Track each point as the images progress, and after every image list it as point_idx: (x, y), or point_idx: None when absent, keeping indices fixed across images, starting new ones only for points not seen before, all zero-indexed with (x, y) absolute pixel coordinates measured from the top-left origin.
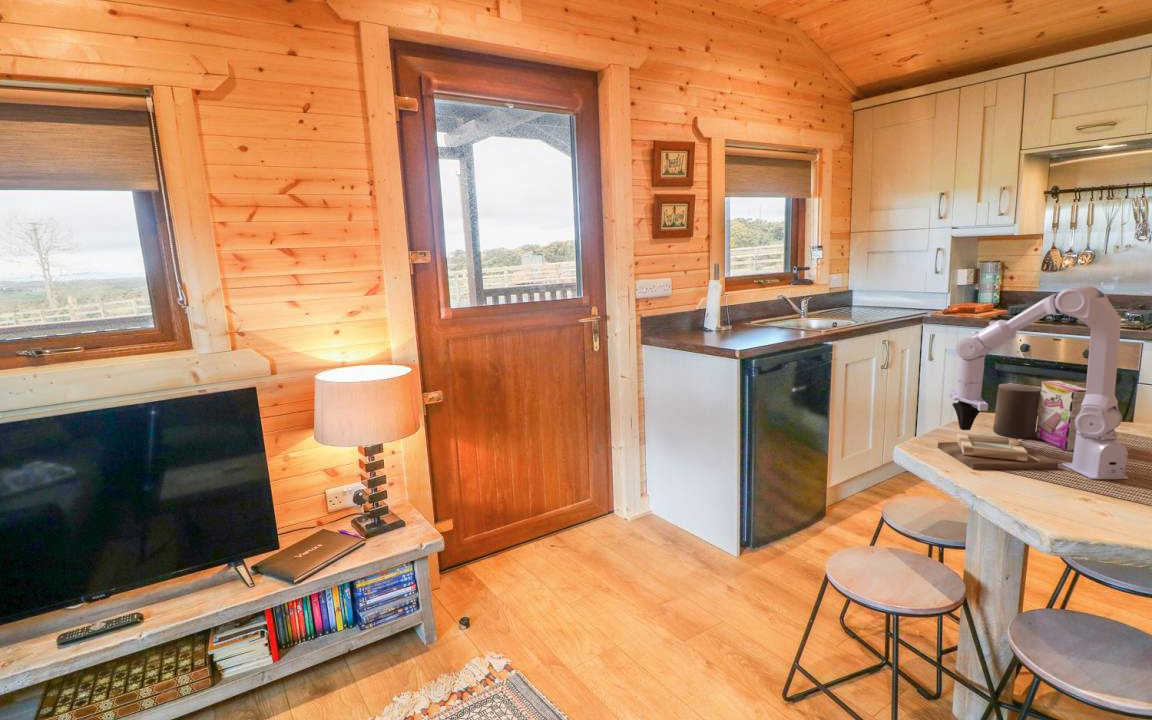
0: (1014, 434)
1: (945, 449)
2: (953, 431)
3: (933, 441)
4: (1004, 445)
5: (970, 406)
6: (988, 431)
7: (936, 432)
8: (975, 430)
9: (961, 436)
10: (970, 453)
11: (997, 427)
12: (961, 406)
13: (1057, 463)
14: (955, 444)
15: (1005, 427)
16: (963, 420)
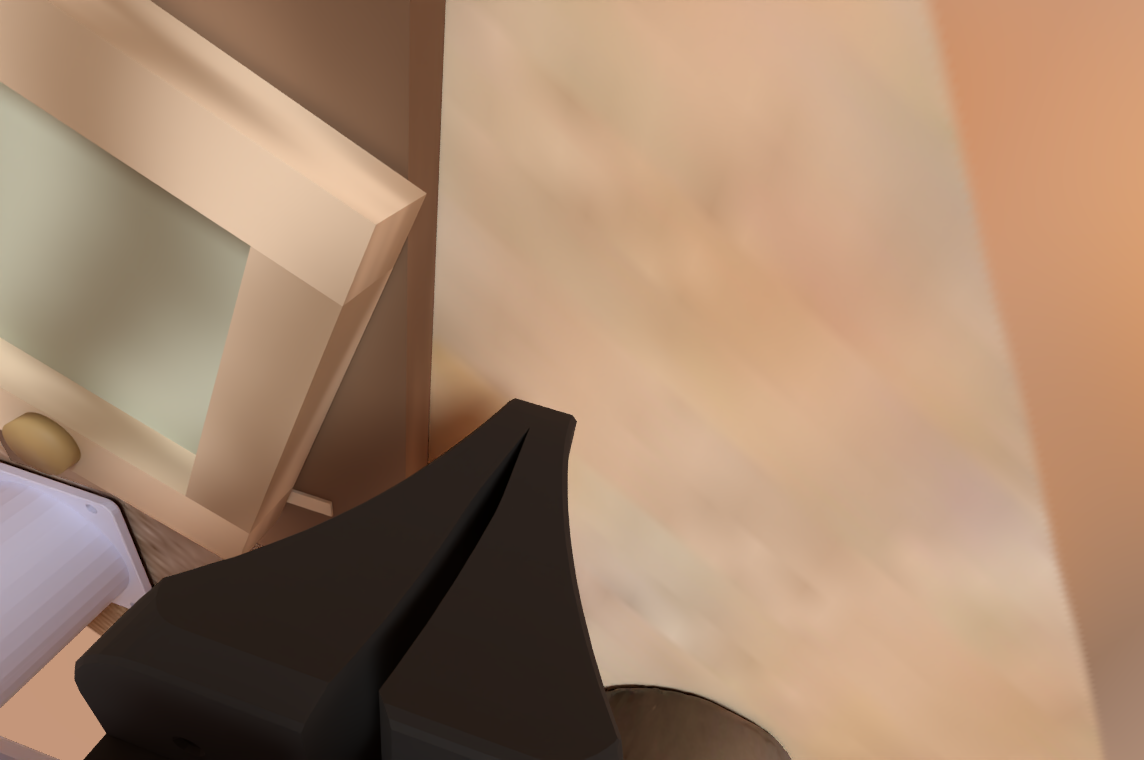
0: None
1: None
2: (921, 540)
3: (713, 40)
4: (184, 423)
5: (95, 754)
6: (778, 707)
7: (1005, 376)
8: (843, 674)
9: (229, 157)
10: None
11: (697, 749)
12: (108, 662)
13: (11, 454)
14: (318, 74)
15: (629, 757)
16: (420, 477)
